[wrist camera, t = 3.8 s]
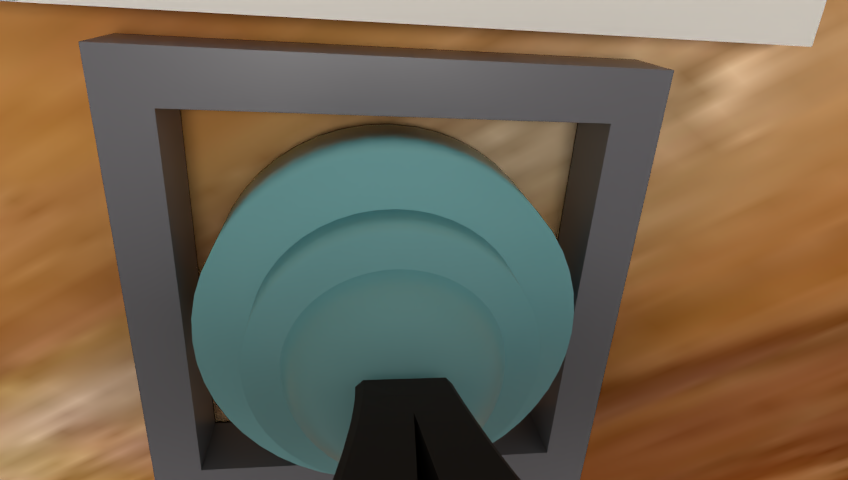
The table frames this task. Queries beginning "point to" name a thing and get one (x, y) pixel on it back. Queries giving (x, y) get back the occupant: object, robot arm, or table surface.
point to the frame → (541, 15)
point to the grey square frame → (374, 96)
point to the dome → (378, 289)
